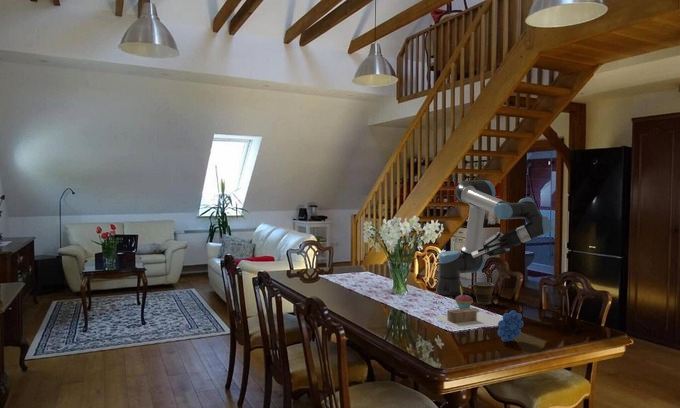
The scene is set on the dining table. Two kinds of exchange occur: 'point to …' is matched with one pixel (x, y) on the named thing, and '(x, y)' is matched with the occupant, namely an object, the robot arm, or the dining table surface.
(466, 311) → the walnut block
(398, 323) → the dining table surface
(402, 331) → the dining table surface
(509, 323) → the grapes
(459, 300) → the cupcake
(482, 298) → the ceramic cup
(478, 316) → the felt mat
